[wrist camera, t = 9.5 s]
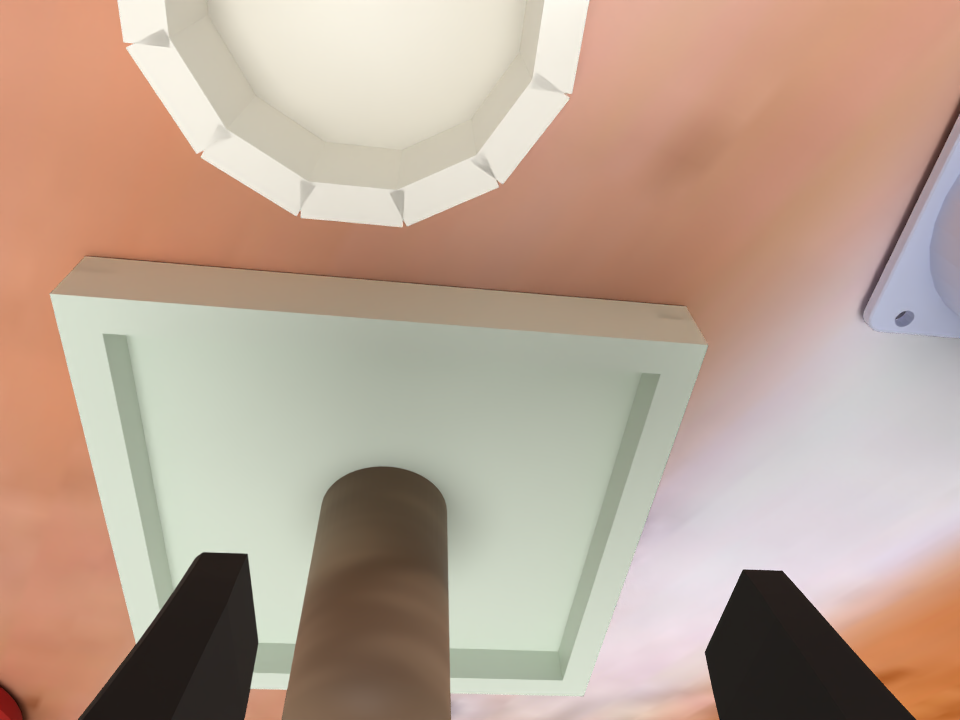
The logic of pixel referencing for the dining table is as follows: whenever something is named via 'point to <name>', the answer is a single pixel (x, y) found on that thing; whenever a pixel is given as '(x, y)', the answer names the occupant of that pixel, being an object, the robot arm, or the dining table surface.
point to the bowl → (360, 94)
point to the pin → (375, 604)
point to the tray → (380, 442)
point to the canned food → (8, 707)
